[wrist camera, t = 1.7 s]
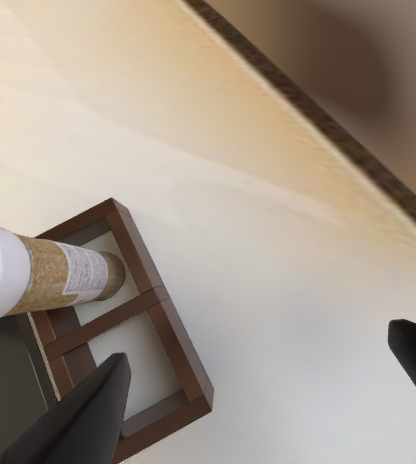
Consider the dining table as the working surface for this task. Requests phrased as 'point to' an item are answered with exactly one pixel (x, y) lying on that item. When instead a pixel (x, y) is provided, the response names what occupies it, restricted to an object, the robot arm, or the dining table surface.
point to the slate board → (21, 379)
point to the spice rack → (152, 299)
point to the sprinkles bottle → (53, 274)
